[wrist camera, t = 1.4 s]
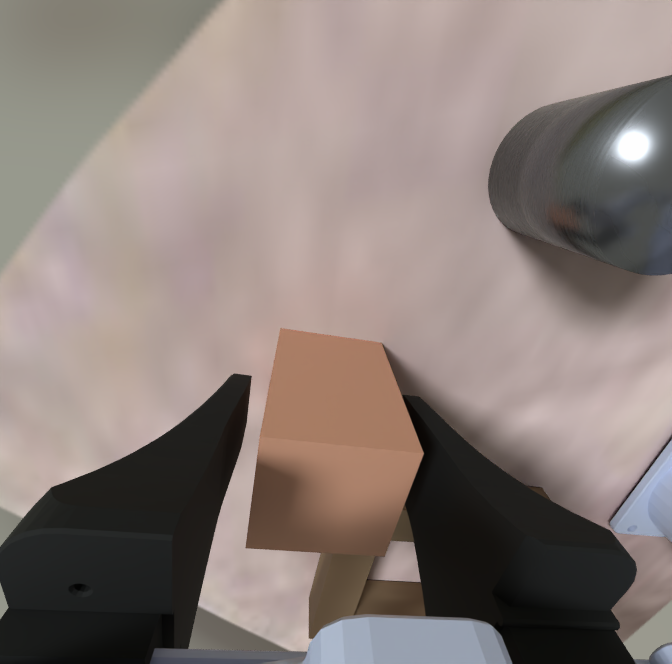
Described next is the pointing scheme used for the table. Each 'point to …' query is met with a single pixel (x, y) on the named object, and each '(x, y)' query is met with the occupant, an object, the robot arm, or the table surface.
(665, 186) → the metal cylinder
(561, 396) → the table surface
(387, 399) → the terracotta block
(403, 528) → the walnut collar
